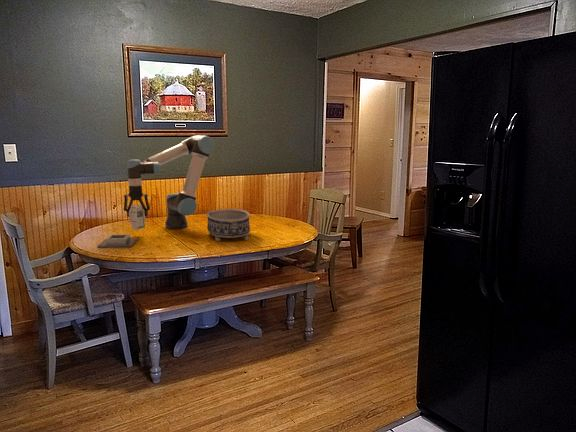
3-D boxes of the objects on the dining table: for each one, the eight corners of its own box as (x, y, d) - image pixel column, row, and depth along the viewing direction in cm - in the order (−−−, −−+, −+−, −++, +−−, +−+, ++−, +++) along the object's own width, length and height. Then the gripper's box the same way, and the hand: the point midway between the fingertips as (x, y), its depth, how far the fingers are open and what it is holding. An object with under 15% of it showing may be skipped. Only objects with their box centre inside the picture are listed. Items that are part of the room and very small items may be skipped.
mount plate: (137, 239, 268) (137, 233, 267) (130, 247, 250) (130, 240, 249) (106, 240, 266) (106, 233, 265) (97, 247, 248) (97, 240, 247)
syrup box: (137, 229, 272) (136, 206, 269) (131, 228, 275) (129, 205, 272) (145, 228, 277) (143, 205, 274) (138, 227, 280) (137, 204, 277)
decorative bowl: (257, 243, 265) (257, 218, 263) (212, 246, 257) (212, 220, 254) (241, 228, 305) (241, 206, 302) (202, 230, 296) (202, 208, 294)
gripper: (116, 186, 266) (118, 223, 270) (151, 185, 268) (153, 222, 272) (119, 184, 273) (121, 220, 277) (153, 184, 275) (155, 220, 280)
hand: (137, 221), depth 275 cm, fingers closed on syrup box, 8 cm apart
